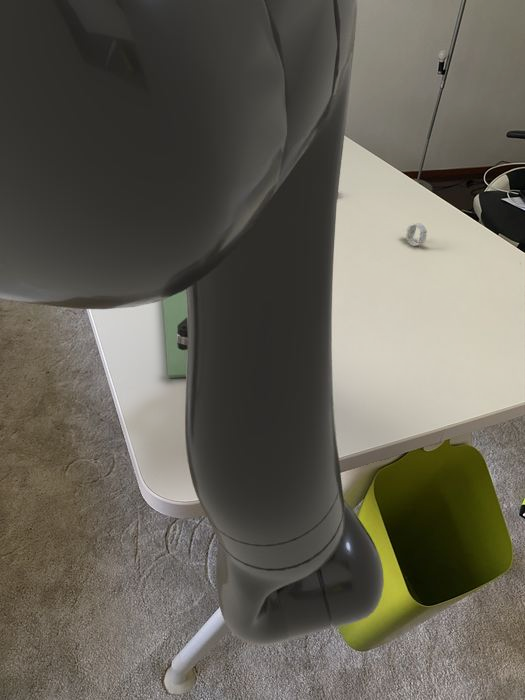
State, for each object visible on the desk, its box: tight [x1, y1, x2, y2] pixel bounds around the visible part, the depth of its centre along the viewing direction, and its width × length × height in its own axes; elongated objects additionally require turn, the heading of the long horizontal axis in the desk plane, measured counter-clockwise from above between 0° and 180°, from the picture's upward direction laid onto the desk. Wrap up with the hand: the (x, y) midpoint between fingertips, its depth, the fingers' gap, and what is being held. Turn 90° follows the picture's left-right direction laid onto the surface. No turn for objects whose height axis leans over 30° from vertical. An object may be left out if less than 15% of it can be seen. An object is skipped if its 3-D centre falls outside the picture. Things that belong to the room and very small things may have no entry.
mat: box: [162, 290, 188, 379], centre depth 78 cm, size 16×24×1 cm, turn 10°
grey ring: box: [405, 222, 428, 247], centre depth 100 cm, size 4×2×4 cm, turn 31°
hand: (228, 285), depth 61 cm, fingers closed
